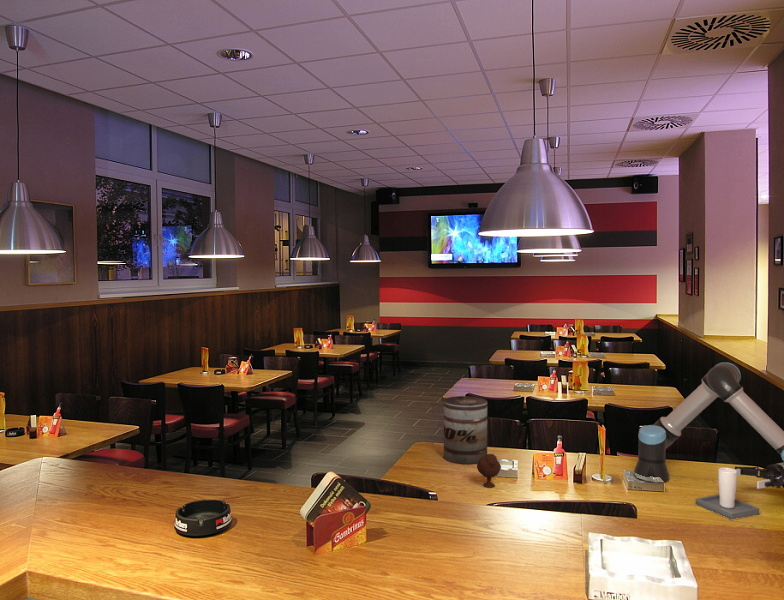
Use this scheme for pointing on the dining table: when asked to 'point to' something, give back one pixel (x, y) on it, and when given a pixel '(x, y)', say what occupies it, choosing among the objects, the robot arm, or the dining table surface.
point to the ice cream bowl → (488, 468)
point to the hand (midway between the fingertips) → (742, 479)
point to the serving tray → (738, 511)
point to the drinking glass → (727, 487)
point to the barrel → (465, 429)
